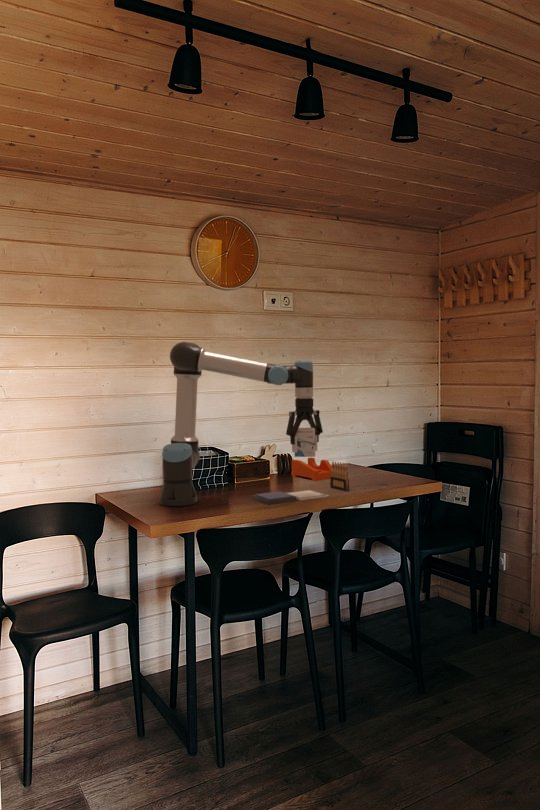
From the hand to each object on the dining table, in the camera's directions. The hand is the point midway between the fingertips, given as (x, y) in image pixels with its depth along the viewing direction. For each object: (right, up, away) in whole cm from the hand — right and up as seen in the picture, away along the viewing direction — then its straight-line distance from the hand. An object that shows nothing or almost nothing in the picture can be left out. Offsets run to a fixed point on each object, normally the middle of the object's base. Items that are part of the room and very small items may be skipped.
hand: (304, 451), depth 265 cm
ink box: (0, -2, 0) cm, 2 cm away
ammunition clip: (+16, -18, +14) cm, 28 cm away
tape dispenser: (+7, -16, +45) cm, 49 cm away
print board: (0, -19, +1) cm, 19 cm away
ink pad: (-13, -19, -6) cm, 24 cm away
